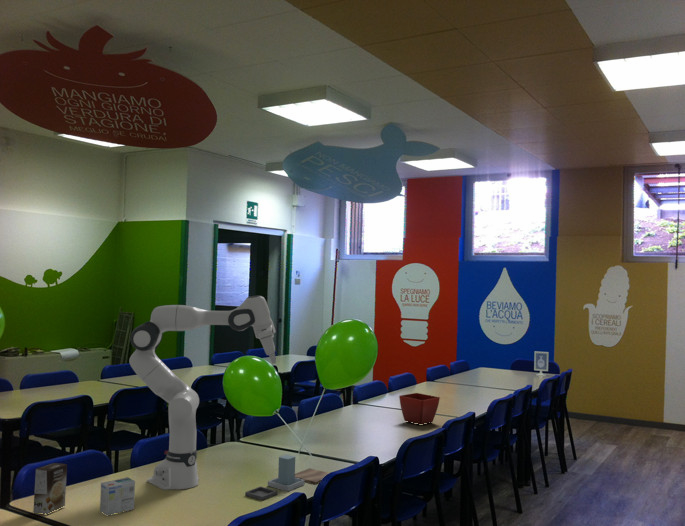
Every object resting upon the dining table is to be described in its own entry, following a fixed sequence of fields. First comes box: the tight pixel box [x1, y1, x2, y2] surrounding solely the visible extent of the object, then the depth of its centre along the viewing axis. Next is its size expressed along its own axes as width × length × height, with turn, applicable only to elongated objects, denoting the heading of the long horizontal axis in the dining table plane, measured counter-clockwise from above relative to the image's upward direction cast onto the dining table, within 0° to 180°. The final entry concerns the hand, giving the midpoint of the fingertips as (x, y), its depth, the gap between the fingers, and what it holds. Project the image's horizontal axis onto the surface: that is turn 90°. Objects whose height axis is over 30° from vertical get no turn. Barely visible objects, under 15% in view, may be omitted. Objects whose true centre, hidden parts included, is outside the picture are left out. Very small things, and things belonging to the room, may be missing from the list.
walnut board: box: [295, 467, 330, 485], centre depth 274 cm, size 14×14×1 cm
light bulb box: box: [99, 476, 136, 516], centre depth 227 cm, size 11×7×11 cm, turn 135°
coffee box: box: [32, 462, 68, 514], centre depth 225 cm, size 9×6×16 cm
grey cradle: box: [267, 477, 305, 492], centre depth 261 cm, size 11×11×2 cm
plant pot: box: [398, 392, 441, 424], centre depth 391 cm, size 19×19×17 cm
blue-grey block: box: [277, 454, 296, 486], centre depth 262 cm, size 5×5×12 cm
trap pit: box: [244, 486, 278, 502], centre depth 248 cm, size 9×9×2 cm
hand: (274, 362), depth 265 cm, fingers open, 8 cm apart
